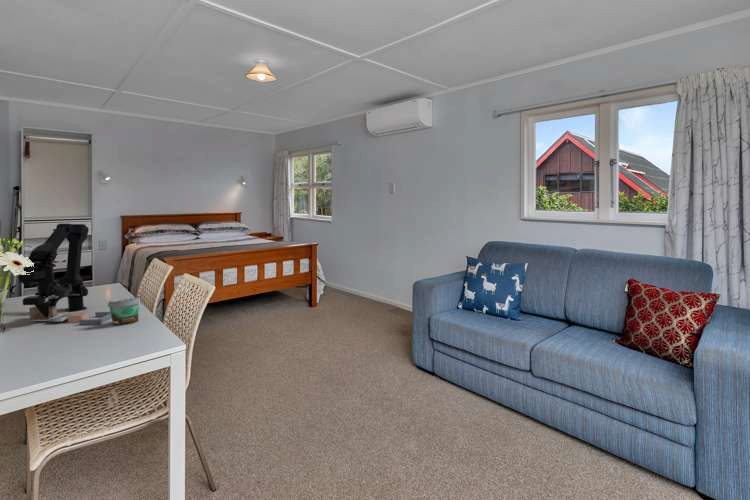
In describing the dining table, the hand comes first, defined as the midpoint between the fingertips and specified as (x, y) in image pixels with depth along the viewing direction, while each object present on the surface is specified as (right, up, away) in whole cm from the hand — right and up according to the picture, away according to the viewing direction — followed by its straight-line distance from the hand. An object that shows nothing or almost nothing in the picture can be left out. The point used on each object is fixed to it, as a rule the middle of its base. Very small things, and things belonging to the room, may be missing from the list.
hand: (49, 316), depth 172 cm
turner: (0, -1, 0) cm, 1 cm away
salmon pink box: (+11, -2, +1) cm, 12 cm away
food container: (+34, -3, -2) cm, 34 cm away
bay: (+19, -2, +2) cm, 19 cm away
